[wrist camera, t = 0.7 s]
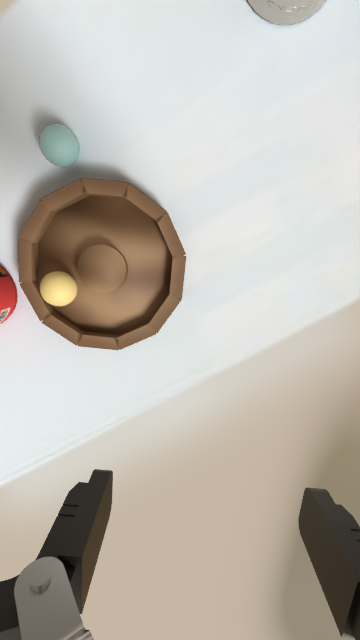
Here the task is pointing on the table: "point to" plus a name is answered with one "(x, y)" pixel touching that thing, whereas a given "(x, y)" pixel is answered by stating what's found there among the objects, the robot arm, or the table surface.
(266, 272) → the table surface
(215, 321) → the table surface
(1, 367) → the table surface
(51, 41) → the table surface
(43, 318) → the tray
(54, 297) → the bead mustard
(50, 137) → the bead teal
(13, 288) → the canned food
